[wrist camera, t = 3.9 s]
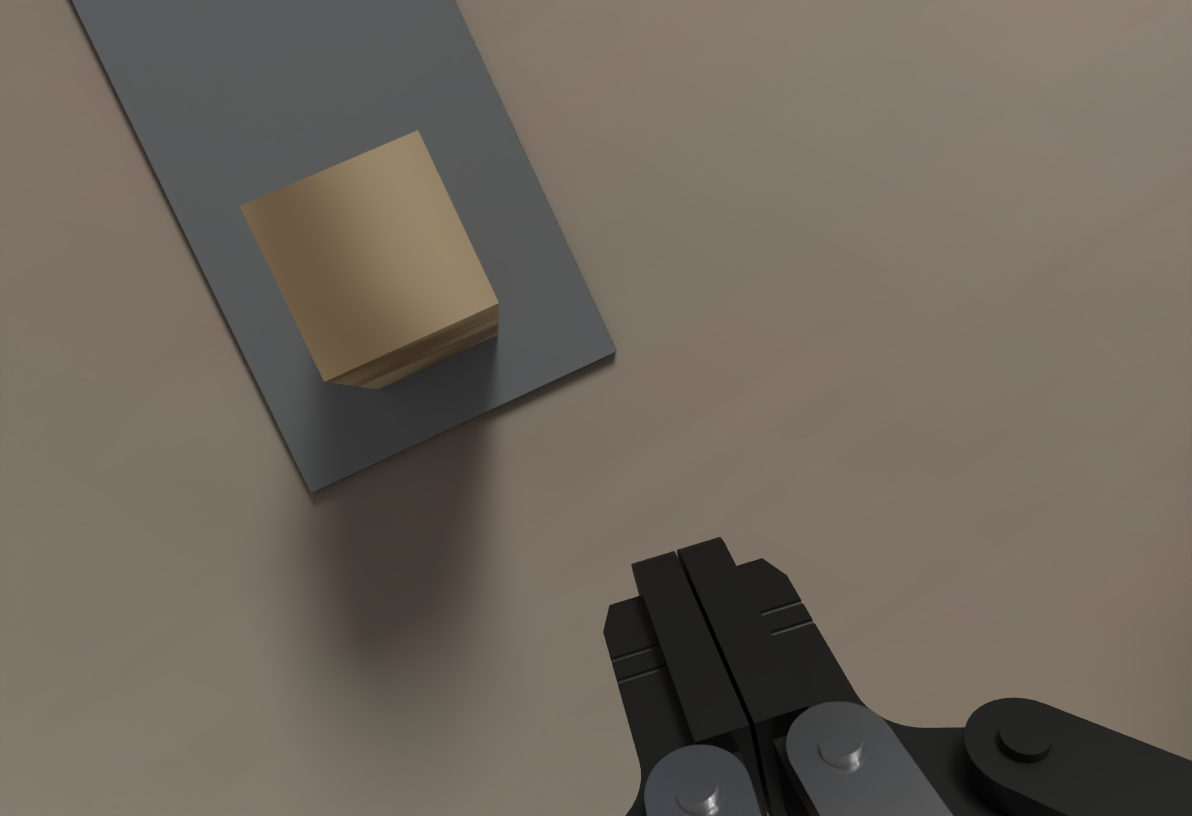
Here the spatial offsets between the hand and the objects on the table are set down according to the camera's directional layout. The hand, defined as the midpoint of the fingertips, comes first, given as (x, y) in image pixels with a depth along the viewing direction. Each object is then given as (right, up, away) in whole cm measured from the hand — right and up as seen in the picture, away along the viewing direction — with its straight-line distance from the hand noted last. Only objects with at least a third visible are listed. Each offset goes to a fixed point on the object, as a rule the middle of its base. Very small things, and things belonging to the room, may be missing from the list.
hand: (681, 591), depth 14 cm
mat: (-11, +12, +20) cm, 26 cm away
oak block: (-9, +7, +20) cm, 23 cm away
